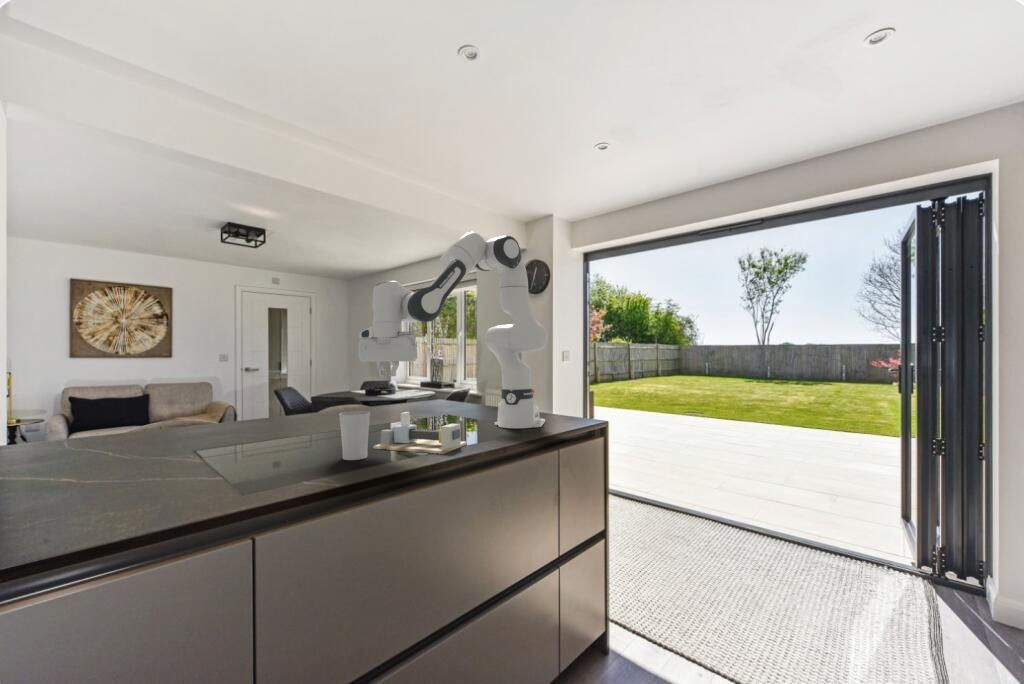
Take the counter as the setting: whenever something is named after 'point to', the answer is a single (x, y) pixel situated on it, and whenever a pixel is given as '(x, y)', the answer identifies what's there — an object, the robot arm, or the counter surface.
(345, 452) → the cup
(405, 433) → the sleeve
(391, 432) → the light grey block
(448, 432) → the connector
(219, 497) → the counter surface
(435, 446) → the board
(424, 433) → the dark grey bar
